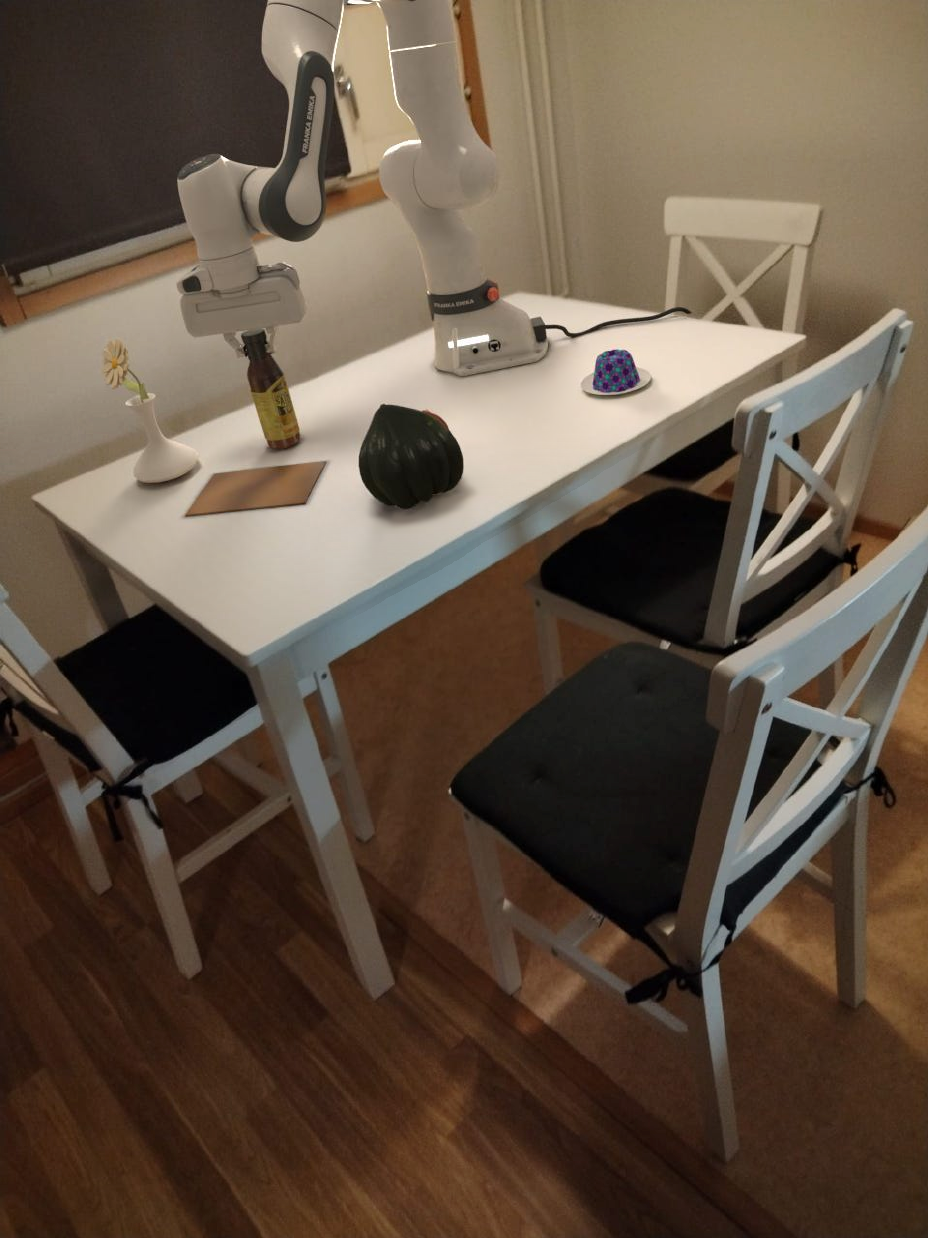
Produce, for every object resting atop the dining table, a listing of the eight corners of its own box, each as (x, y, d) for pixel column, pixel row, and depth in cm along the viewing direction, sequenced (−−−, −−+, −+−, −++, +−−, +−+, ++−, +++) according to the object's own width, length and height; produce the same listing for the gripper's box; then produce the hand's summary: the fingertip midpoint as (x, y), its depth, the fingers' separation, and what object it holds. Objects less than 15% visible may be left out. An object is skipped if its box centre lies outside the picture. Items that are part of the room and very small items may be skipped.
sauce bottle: (295, 449, 161) (262, 337, 150) (262, 452, 162) (226, 341, 151) (307, 433, 166) (275, 323, 155) (275, 435, 168) (241, 327, 156)
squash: (478, 473, 129) (440, 376, 130) (376, 508, 127) (339, 409, 129) (469, 501, 143) (435, 412, 144) (377, 533, 141) (344, 443, 143)
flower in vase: (133, 472, 165) (75, 335, 151) (195, 451, 168) (144, 315, 154) (142, 499, 155) (81, 355, 141) (208, 477, 158) (155, 333, 143)
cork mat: (326, 462, 154) (325, 460, 154) (305, 503, 143) (304, 502, 143) (214, 474, 158) (213, 473, 158) (185, 516, 147) (185, 514, 147)
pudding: (593, 370, 166) (591, 341, 163) (659, 370, 161) (658, 341, 158) (571, 398, 158) (567, 368, 155) (640, 399, 153) (637, 369, 150)
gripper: (298, 254, 148) (321, 339, 156) (180, 273, 152) (208, 355, 159) (288, 266, 143) (312, 353, 150) (166, 285, 147) (196, 369, 154)
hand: (258, 354), depth 155 cm, fingers closed on sauce bottle, 4 cm apart
